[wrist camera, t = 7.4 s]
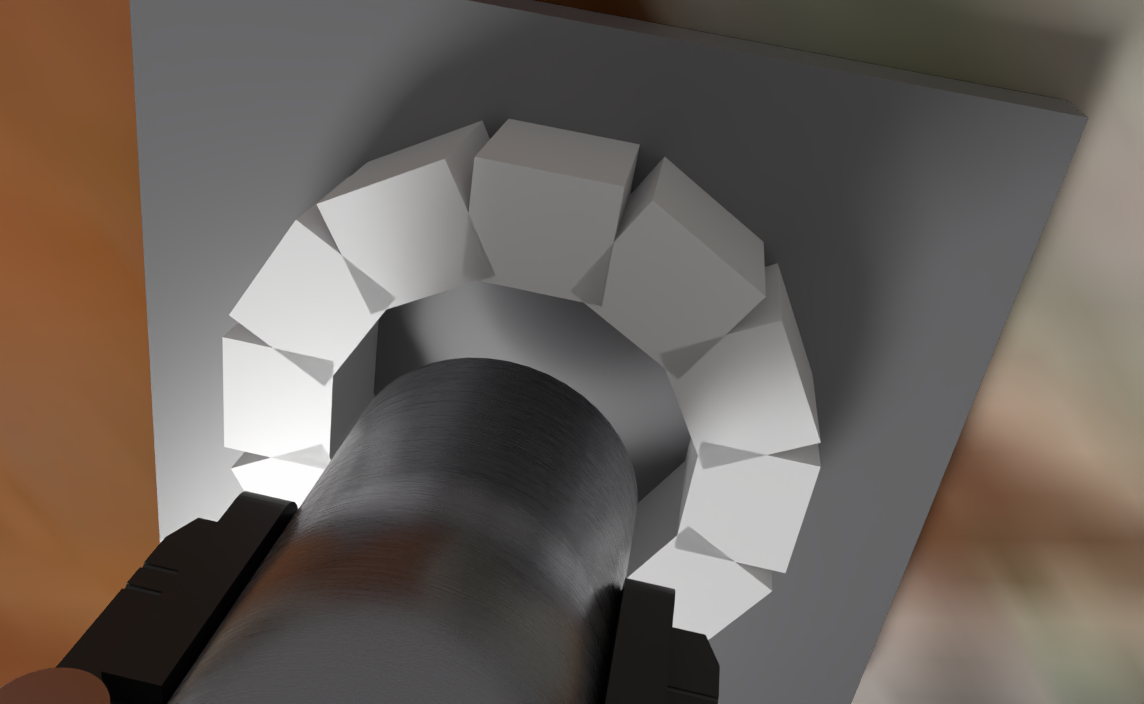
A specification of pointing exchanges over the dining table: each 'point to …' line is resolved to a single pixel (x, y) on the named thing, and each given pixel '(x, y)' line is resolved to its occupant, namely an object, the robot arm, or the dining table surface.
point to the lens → (442, 555)
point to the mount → (593, 275)
